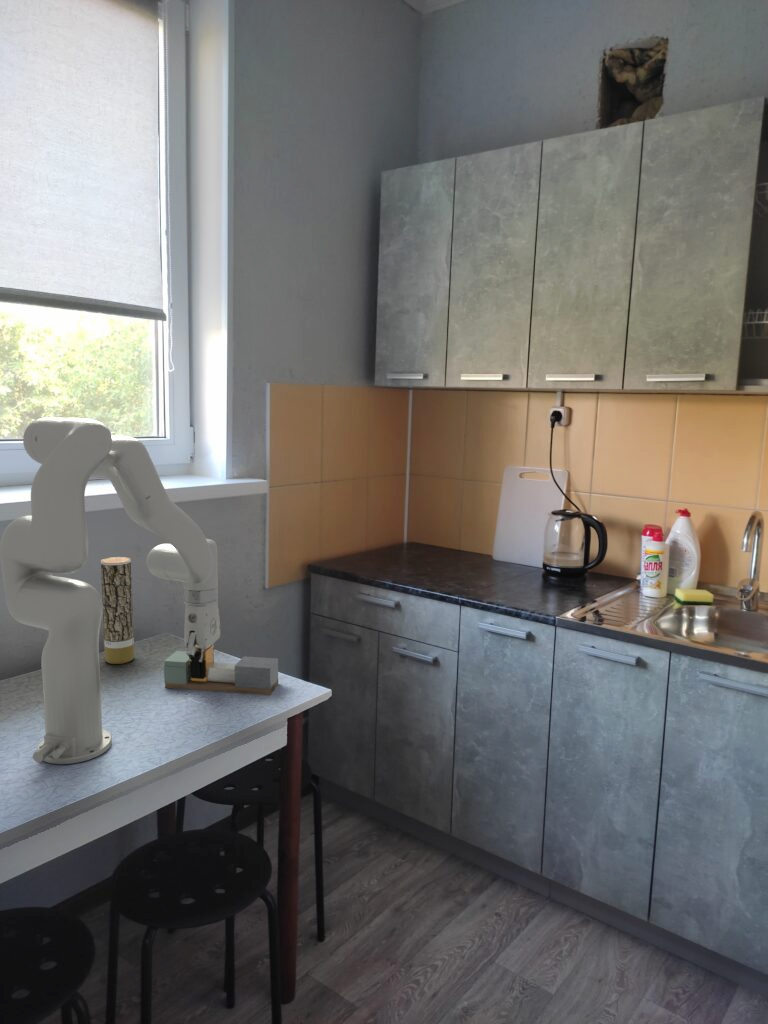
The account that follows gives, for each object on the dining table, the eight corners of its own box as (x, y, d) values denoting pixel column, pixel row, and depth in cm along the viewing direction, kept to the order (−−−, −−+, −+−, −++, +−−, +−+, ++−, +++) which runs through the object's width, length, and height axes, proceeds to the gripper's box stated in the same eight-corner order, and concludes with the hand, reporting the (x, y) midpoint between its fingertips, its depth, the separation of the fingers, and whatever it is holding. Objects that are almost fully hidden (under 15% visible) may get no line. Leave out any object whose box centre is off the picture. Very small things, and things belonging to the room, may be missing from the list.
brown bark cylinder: (115, 667, 174) (111, 564, 170) (99, 660, 178) (94, 560, 174) (140, 659, 180) (136, 559, 176) (124, 653, 184) (120, 555, 180)
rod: (239, 684, 161) (238, 653, 160) (173, 679, 163) (172, 649, 162) (245, 676, 166) (245, 647, 164) (181, 672, 167) (180, 643, 166)
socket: (186, 684, 161) (185, 662, 161) (164, 682, 162) (163, 661, 161) (198, 672, 168) (197, 651, 168) (177, 671, 169) (176, 650, 168)
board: (270, 695, 159) (270, 689, 159) (165, 687, 163) (164, 682, 162) (278, 683, 166) (278, 678, 166) (177, 676, 169) (177, 671, 169)
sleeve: (270, 689, 159) (270, 668, 159) (234, 687, 160) (234, 666, 160) (278, 678, 166) (278, 658, 165) (243, 676, 167) (243, 656, 166)
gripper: (202, 606, 153) (204, 689, 156) (230, 586, 169) (231, 661, 172) (168, 604, 154) (170, 687, 157) (198, 584, 170) (200, 659, 173)
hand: (202, 672), depth 164 cm, fingers closed on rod, 4 cm apart
